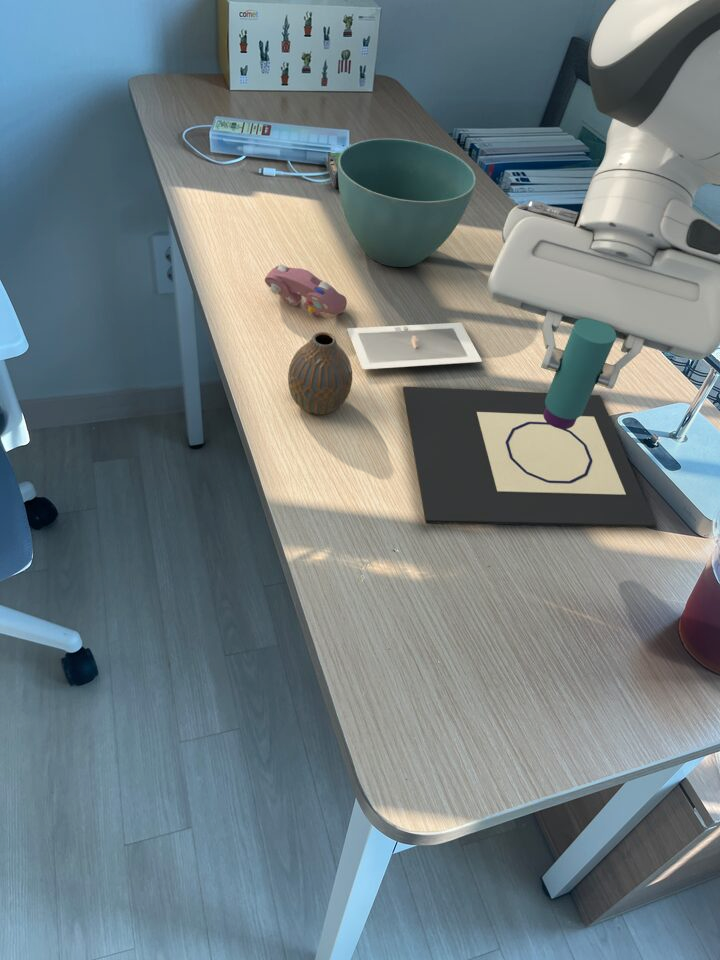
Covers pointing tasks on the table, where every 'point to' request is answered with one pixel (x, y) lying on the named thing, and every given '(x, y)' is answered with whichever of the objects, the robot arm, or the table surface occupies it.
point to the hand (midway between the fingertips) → (576, 377)
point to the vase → (320, 375)
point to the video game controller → (305, 290)
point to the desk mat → (519, 462)
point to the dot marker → (578, 372)
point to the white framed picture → (412, 345)
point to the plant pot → (402, 197)
